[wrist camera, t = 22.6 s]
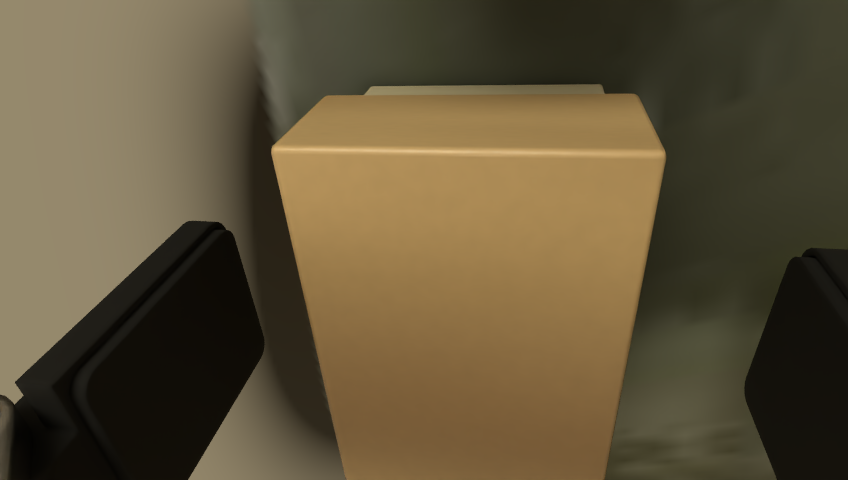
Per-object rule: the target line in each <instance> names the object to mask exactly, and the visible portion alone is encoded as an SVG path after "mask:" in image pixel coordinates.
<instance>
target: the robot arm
mask: <svg viewBox="0 0 848 480" xmlns="http://www.w3.org/2000/svg"><path fill="white" fill-rule="evenodd" d="M263 351H264V336H263V333H262V329H261V326H260V323H259V319H258V316H257V312H256V309H255V306H254V302H253V299H252V296H251V292H250V289H249V286H248V282H247V279H246V275H245V272H244V269H243V265H242V262H241V259H240V255H239V252H238V248H237V245H236V241H235V238H234V236H233V234H232V233H231V231H228V230H226V229H225V227H224V226H223V225H222V224H221V223H219V222H206V221H188V222H186V223H185V224H183V225H182V226H181V227H180V228H179V229H178V230H177V231H176V232H175V233H174V234H172V235H171V236H170V237H169V238H168V239H167V240H166V241H165V242H164V243H163V244H162V245H161V246H160V247H158V249H156V250H155V251H154V252H153V253H152V254H151V255H150V256H149V257H148V258H147V259H146V260H145V261H144V262H142V263H141V264H140V265H139V266H138V267H137V268H136V269H135V270H134V271H133V272H132V273H131V274H130V275H129V276H128V277H126V278H125V279H124V280H123V281H122V282H121V283H120V284H119V285H118V286H117V287H116V288H115V289H114V290H113V291H112V292H110V293H109V294H108V295H107V296H106V297H105V298H104V299H103V300H102V301H101V302H100V303H99V304H98V305H97V306H96V307H95V308H94V309H92V310H91V311H90V312H89V313H88V314H87V315H86V316H85V317H84V318H83V319H82V320H81V321H80V322H78V323H77V324H76V325H75V326H74V327H73V328H72V329H71V330H70V331H69V332H68V333H67V334H66V335H65V336H64V337H63V338H62V339H61V340H59V341H58V342H57V343H56V344H55V345H54V346H53V347H52V348H51V349H50V350H49V351H48V352H47V353H45V354H44V355H43V356H42V357H41V358H40V359H39V360H38V361H37V362H36V363H35V364H34V365H33V366H32V367H31V368H30V369H28V370H27V371H26V372H25V373H24V374H23V375H22V376H21V377H20V378H19V379H18V380H17V381H16V382H15V383H16V385H17V386H18V388H19V389H20V391H21V392H22V393H23V395H24V396H23V397H22V398H21V399H20V400H19V401H18V402H17V403H16V404H15V405H14V404H13V402H12V401H11V400H9V399H8V398H7V397H6V396H3V395H0V480H188V479H189V477H190V476H191V474H192V472H193V471H194V469H195V467H196V466H197V464H198V462H199V461H200V459H201V457H202V456H203V454H204V452H205V450H206V449H207V447H208V446H209V444H210V442H211V440H212V439H213V437H214V435H215V434H216V432H217V430H218V429H219V427H220V425H221V424H222V422H223V420H224V419H225V417H226V415H227V414H228V412H229V410H230V409H231V407H232V405H233V404H234V402H235V400H236V399H237V397H238V395H239V394H240V392H241V390H242V389H243V387H244V385H245V384H246V382H247V380H248V378H249V377H250V375H251V374H252V372H253V370H254V369H255V367H256V365H257V364H258V362H259V360H260V359H261V356H262V354H263ZM745 398H746V402H747V405H748V407H749V410H750V412H751V415H752V417H753V420H754V422H755V425H756V427H757V430H758V433H759V435H760V438H761V440H762V443H763V445H764V448H765V450H766V453H767V455H768V458H769V460H770V463H771V465H772V468H773V470H774V473H775V475H776V478H777V480H848V250H844V249H821V248H810V249H808V250H806V251H805V252H804V253H803V255H802V257H794V258H792V259H791V260H790V261H789V263H788V265H787V268H786V271H785V274H784V276H783V279H782V282H781V284H780V287H779V290H778V293H777V295H776V298H775V301H774V303H773V306H772V309H771V312H770V314H769V317H768V320H767V323H766V325H765V328H764V331H763V333H762V336H761V339H760V342H759V344H758V347H757V350H756V352H755V355H754V358H753V361H752V363H751V366H750V369H749V372H748V374H747V377H746V380H745Z"/></svg>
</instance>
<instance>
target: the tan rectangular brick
mask: <svg viewBox="0 0 848 480" xmlns="http://www.w3.org/2000/svg"><path fill="white" fill-rule="evenodd" d="M271 154H272V158H273V162H274V167H275V171H276V175H277V180H278V184H279V189H280V193H281V197H282V202H283V206H284V211H285V215H286V219H287V224H288V228H289V232H290V237H291V241H292V246H293V250H294V254H295V259H296V263H297V267H298V272H299V276H300V281H301V285H302V289H303V294H304V298H305V302H306V307H307V311H308V316H309V320H310V324H311V329H312V333H313V338H314V342H315V346H316V351H317V355H318V359H319V364H320V368H321V373H322V377H323V381H324V386H325V390H326V394H327V399H328V403H329V408H330V412H331V416H332V421H333V425H334V429H335V434H336V438H337V442H338V447H339V451H340V456H341V460H342V464H343V469H344V473H345V478H346V480H605V475H606V469H607V464H608V459H609V454H610V449H611V443H612V438H613V433H614V428H615V423H616V417H617V412H618V407H619V402H620V397H621V391H622V386H623V381H624V376H625V371H626V365H627V360H628V355H629V350H630V345H631V339H632V334H633V329H634V324H635V319H636V313H637V308H638V303H639V298H640V293H641V288H642V282H643V277H644V272H645V267H646V262H647V256H648V251H649V246H650V241H651V236H652V230H653V225H654V220H655V215H656V210H657V204H658V199H659V194H660V189H661V184H662V178H663V173H664V168H665V163H666V158H667V156H666V153H665V150H664V148H663V146H662V144H661V142H660V140H659V137H658V135H657V133H656V131H655V129H654V127H653V125H652V123H651V121H650V119H649V117H648V115H647V113H646V111H645V109H644V107H643V105H642V103H641V100H640V98H639V96H638V95H635V94H605V93H604V90H603V87H602V85H600V84H572V85H463V86H372V87H370V88H369V89H368V91H367V92H366V93H365V94H364V95H334V96H325V97H323V98H322V99H321V100H320V101H319V102H318V103H317V104H316V105H315V106H314V107H313V108H312V109H311V110H310V111H309V112H308V113H307V114H306V115H305V116H304V117H302V118H301V119H300V120H299V121H298V122H297V123H296V124H295V125H294V126H293V127H292V128H291V129H290V130H289V131H288V132H287V133H286V134H285V135H284V136H283V137H282V138H281V139H280V140H278V141H277V142H276V143H275V144H274V145H273V146H272V152H271Z"/></svg>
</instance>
